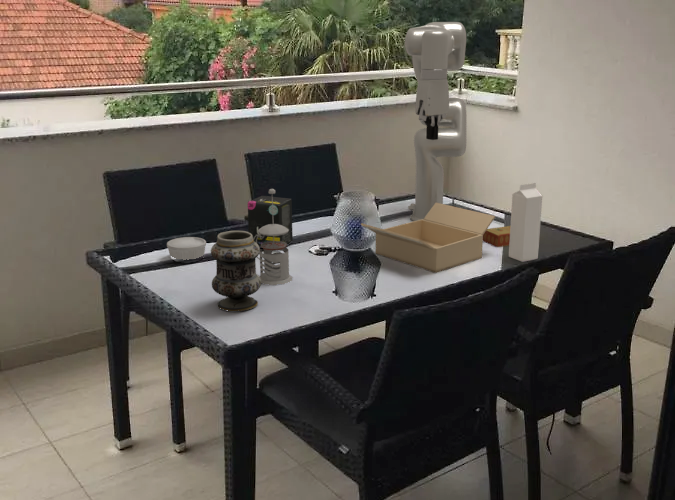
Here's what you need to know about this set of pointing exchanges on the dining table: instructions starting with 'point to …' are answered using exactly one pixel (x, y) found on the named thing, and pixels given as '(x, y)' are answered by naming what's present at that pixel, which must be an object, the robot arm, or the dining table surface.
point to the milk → (525, 223)
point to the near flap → (397, 236)
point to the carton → (498, 236)
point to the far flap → (459, 218)
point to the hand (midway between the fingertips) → (432, 139)
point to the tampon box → (270, 217)
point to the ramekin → (186, 247)
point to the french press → (274, 254)
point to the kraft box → (446, 240)
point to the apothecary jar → (236, 270)
